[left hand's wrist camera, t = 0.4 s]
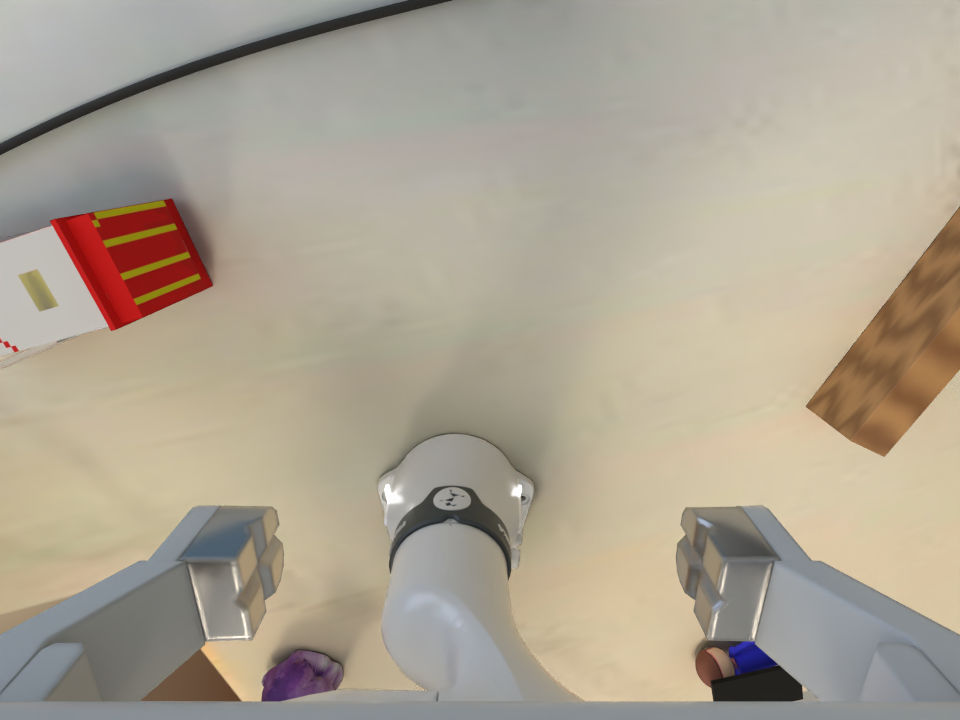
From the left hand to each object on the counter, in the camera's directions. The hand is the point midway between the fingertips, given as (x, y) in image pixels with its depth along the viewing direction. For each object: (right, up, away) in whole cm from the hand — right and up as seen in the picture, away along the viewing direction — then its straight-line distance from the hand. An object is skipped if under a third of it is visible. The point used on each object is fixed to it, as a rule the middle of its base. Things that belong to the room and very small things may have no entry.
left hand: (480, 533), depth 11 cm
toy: (-42, +12, +45) cm, 63 cm away
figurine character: (+37, -36, +63) cm, 81 cm away
